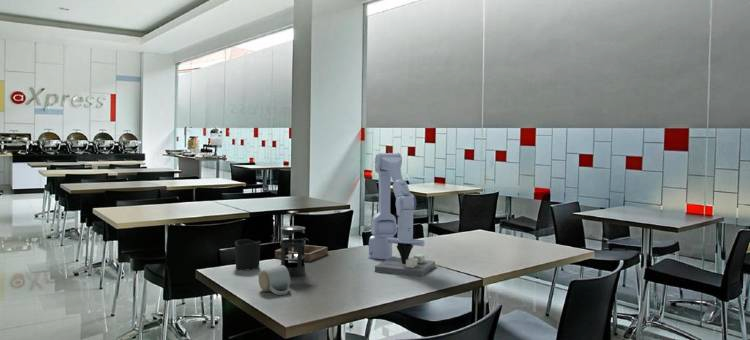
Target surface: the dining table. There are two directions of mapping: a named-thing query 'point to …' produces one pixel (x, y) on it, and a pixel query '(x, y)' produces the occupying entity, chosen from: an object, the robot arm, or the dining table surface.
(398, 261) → the console
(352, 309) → the dining table surface
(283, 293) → the ceramic mug
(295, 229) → the french press
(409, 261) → the block
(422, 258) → the sage fader
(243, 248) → the pen holder
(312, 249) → the tray
